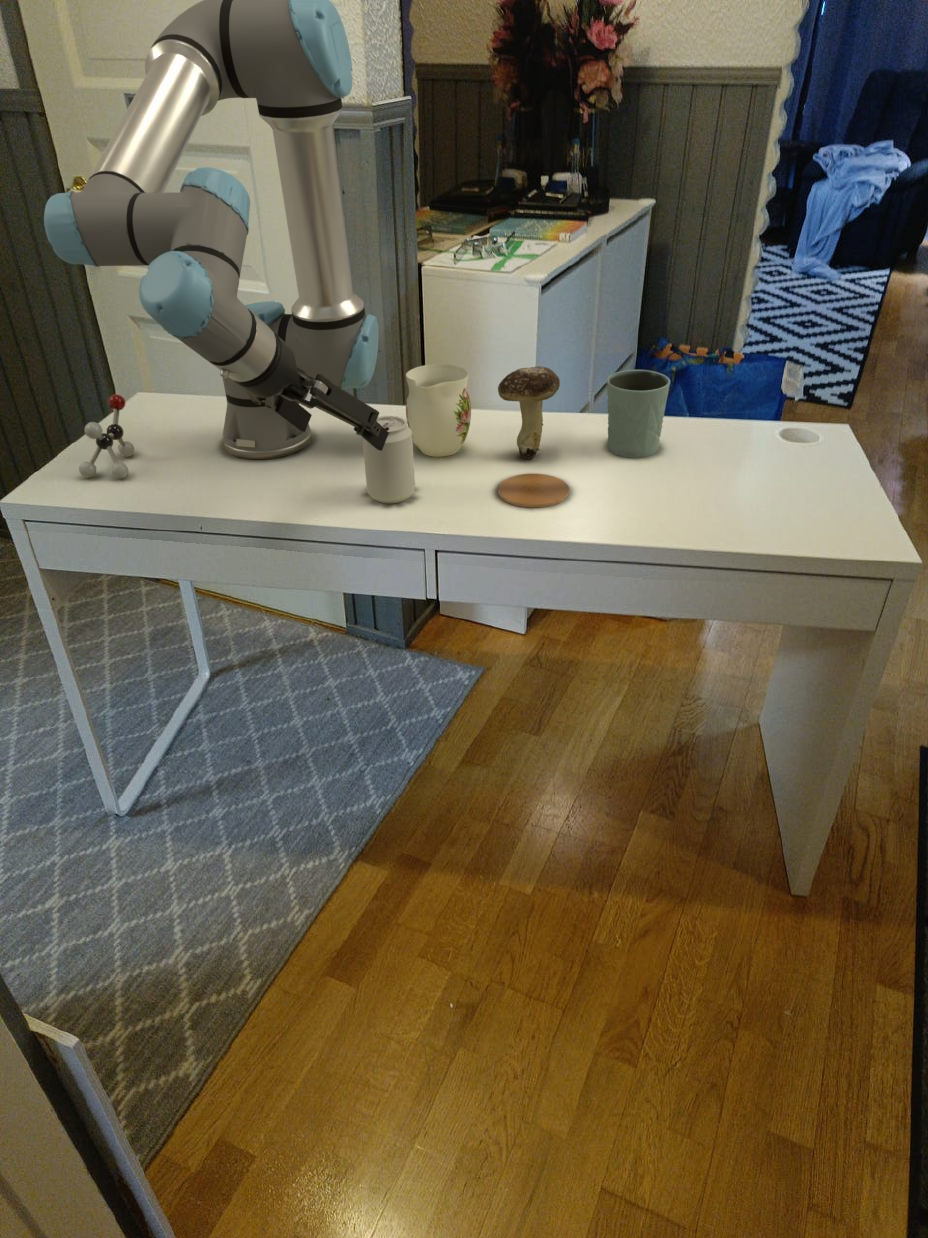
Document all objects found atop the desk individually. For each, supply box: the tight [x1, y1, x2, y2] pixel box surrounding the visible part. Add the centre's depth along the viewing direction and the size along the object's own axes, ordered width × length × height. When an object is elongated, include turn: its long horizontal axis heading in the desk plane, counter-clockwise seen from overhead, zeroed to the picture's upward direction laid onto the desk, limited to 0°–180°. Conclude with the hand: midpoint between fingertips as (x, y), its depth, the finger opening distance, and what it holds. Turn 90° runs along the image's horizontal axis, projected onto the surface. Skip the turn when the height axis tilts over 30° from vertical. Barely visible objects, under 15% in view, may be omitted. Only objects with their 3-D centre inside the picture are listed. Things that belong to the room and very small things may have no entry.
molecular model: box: [78, 393, 135, 480], centre depth 146 cm, size 8×12×11 cm
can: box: [361, 415, 416, 504], centre depth 134 cm, size 8×8×12 cm
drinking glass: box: [606, 369, 671, 459], centre depth 147 cm, size 10×10×12 cm
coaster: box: [497, 473, 570, 509], centre depth 137 cm, size 11×11×1 cm
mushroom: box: [497, 366, 561, 460], centre depth 144 cm, size 9×9×15 cm
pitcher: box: [405, 363, 472, 458], centre depth 149 cm, size 11×18×14 cm, turn 165°
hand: (344, 431), depth 123 cm, fingers open, 13 cm apart
